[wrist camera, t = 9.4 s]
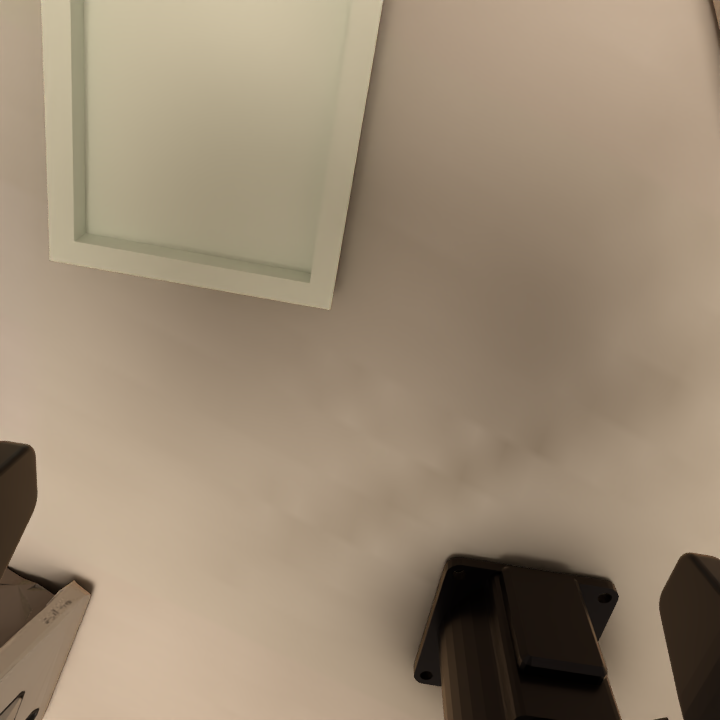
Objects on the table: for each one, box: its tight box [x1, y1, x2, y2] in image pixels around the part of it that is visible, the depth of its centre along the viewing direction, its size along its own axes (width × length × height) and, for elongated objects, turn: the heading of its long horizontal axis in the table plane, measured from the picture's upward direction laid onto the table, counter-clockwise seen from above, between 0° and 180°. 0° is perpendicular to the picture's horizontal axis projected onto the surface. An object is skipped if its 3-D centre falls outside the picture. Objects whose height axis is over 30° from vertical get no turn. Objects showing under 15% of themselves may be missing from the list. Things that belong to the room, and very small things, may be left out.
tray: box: [41, 0, 383, 310], centre depth 18 cm, size 9×8×1 cm
